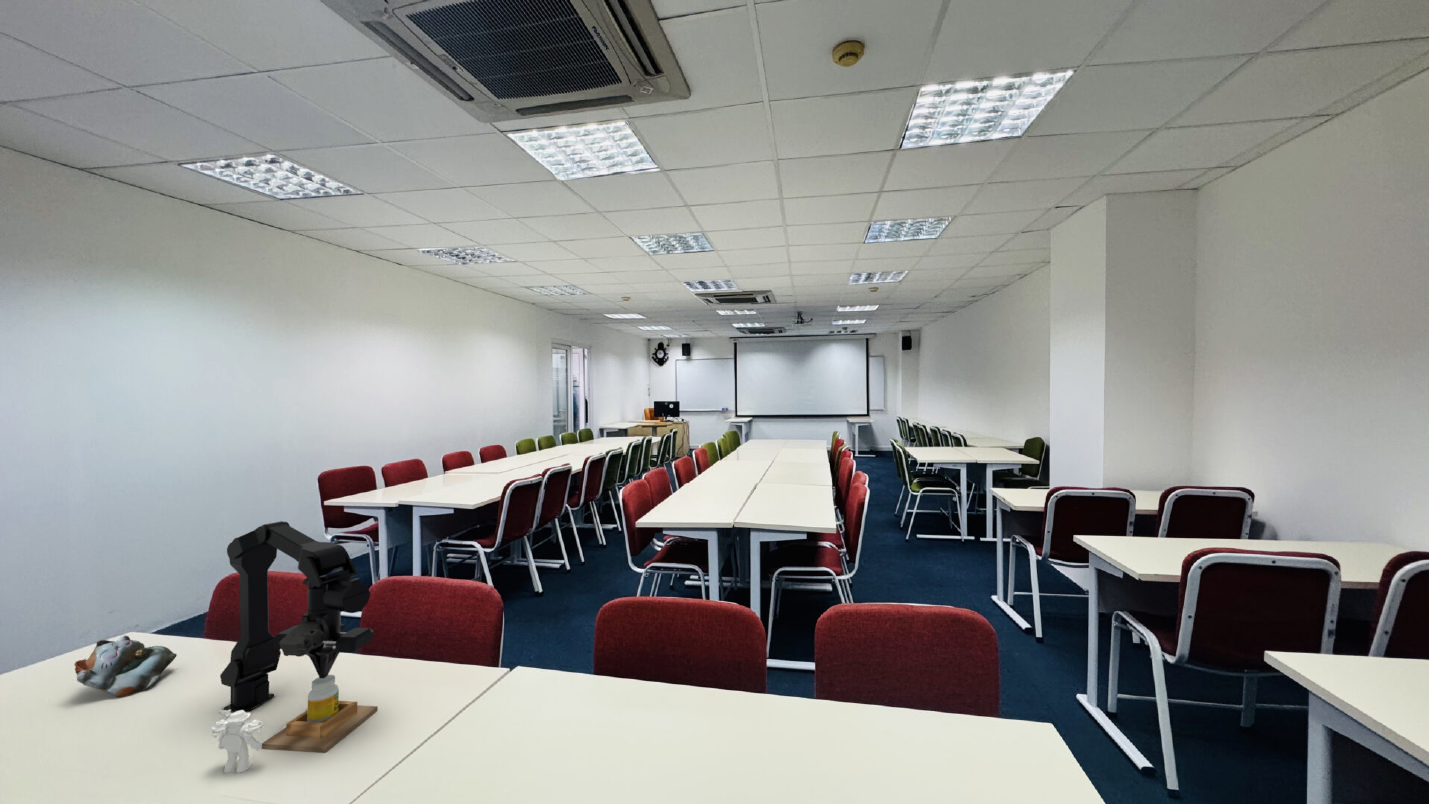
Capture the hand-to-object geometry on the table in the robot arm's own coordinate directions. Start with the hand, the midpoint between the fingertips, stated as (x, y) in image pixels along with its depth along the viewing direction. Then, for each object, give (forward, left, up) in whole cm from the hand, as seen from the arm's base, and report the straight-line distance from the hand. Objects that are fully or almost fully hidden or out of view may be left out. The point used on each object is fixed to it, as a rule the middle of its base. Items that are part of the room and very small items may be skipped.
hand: (323, 677), depth 109 cm
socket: (0, 0, -11) cm, 11 cm away
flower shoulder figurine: (-6, -13, -11) cm, 18 cm away
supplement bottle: (0, 0, -10) cm, 10 cm away
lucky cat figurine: (-62, +11, -11) cm, 64 cm away
